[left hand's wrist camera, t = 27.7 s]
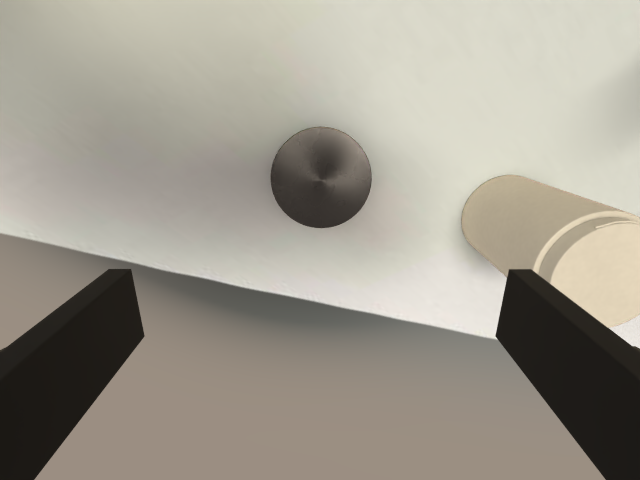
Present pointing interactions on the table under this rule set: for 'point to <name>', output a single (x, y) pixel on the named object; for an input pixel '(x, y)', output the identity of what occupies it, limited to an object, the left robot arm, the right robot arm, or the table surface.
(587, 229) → the jar
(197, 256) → the table surface
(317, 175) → the lid
